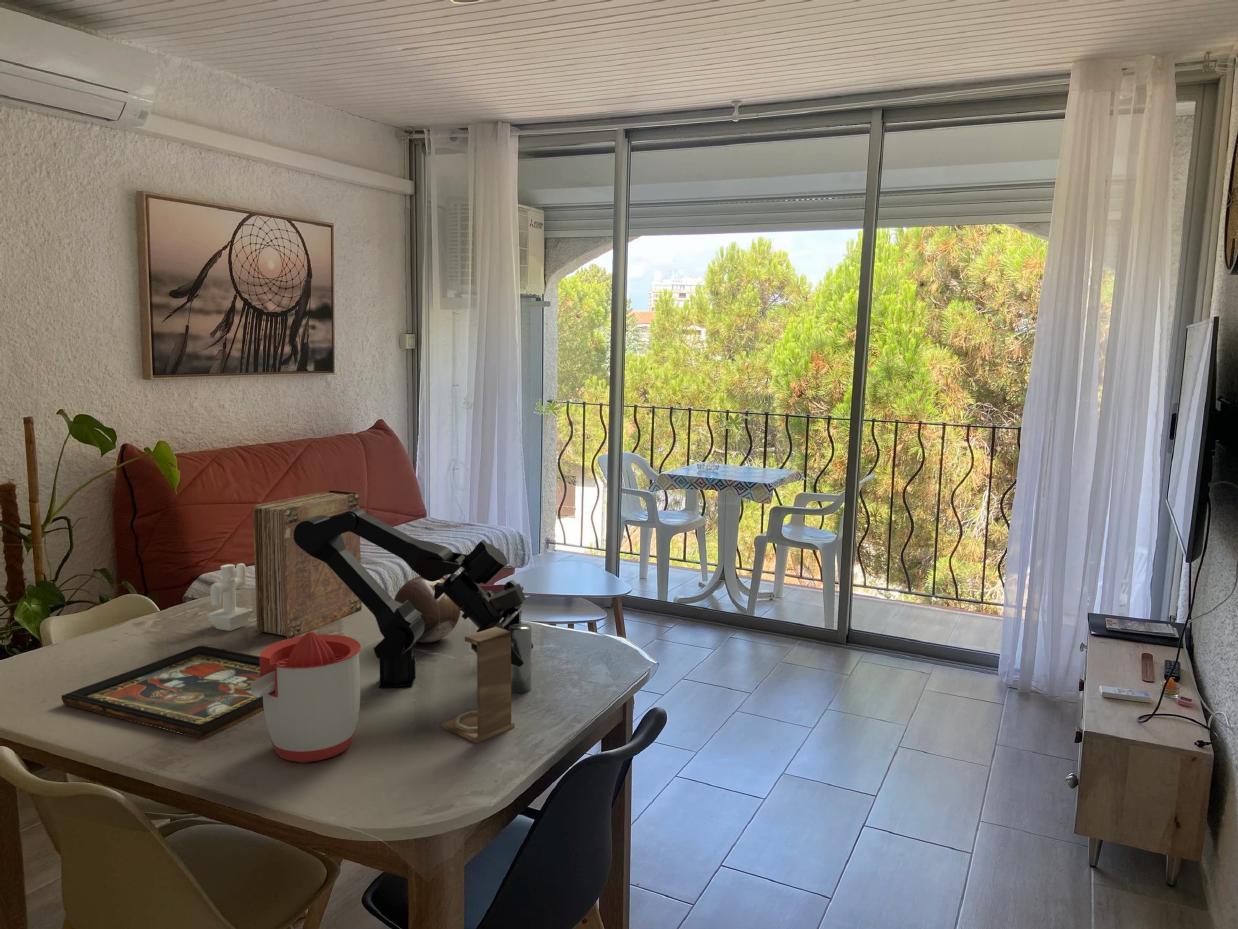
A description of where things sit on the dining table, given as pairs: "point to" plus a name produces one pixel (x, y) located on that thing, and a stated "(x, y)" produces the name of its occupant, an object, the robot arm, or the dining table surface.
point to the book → (299, 566)
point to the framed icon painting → (180, 692)
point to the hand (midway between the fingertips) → (527, 656)
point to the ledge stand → (488, 688)
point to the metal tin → (523, 648)
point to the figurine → (229, 599)
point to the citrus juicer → (310, 695)
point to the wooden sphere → (430, 608)
